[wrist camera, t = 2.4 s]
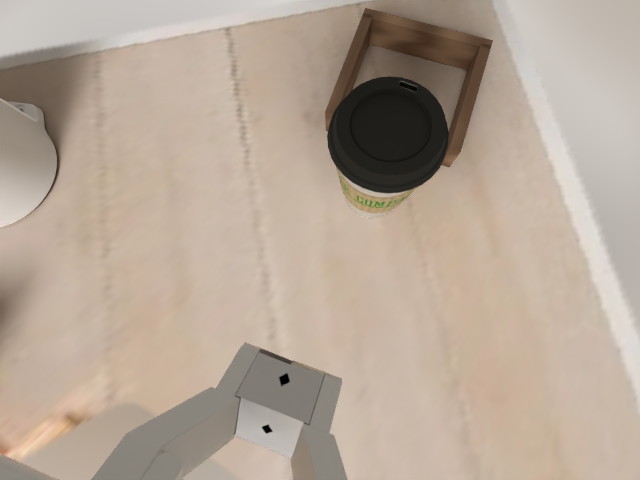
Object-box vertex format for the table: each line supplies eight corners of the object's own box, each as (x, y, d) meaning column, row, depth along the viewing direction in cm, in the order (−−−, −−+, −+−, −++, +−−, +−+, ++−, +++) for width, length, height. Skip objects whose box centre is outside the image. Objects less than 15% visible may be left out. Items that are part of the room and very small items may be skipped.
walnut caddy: (326, 130, 45) (325, 111, 41) (362, 34, 48) (365, 8, 44) (449, 167, 43) (460, 151, 39) (479, 64, 46) (492, 40, 42)
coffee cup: (315, 213, 42) (305, 154, 28) (349, 142, 44) (357, 52, 30) (394, 247, 41) (428, 204, 26) (426, 173, 43) (473, 94, 28)
